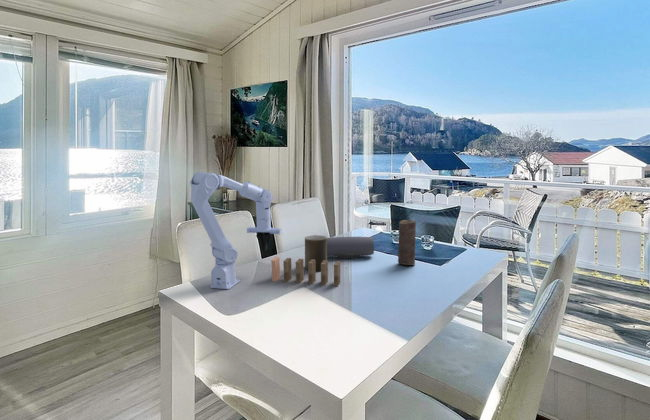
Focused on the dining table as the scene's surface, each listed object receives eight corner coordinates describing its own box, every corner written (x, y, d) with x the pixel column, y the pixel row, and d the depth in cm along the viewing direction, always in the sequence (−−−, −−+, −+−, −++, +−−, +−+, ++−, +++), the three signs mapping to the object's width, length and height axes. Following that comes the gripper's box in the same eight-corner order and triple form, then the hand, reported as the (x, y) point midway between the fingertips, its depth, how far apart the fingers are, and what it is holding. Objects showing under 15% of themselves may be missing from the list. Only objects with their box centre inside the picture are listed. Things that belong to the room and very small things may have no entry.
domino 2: (287, 282, 147) (287, 261, 145) (284, 282, 147) (283, 261, 146) (291, 278, 151) (291, 258, 150) (287, 278, 151) (287, 257, 150)
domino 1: (275, 281, 148) (275, 260, 146) (272, 281, 148) (271, 260, 147) (280, 277, 152) (279, 257, 151) (276, 277, 153) (275, 257, 151)
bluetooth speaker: (371, 254, 184) (371, 234, 182) (374, 259, 175) (374, 238, 173) (324, 254, 183) (324, 234, 182) (325, 260, 174) (325, 239, 173)
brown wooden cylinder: (410, 268, 162) (411, 222, 158) (394, 265, 166) (395, 221, 163) (417, 263, 168) (419, 220, 164) (402, 261, 172) (403, 218, 169)
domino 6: (337, 286, 142) (337, 264, 140) (333, 286, 142) (333, 264, 141) (340, 282, 146) (340, 261, 145) (336, 281, 147) (336, 261, 145)
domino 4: (312, 284, 144) (312, 263, 143) (308, 284, 145) (308, 262, 143) (315, 280, 149) (315, 259, 147) (311, 279, 149) (311, 259, 148)
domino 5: (325, 285, 143) (324, 264, 142) (321, 285, 143) (320, 263, 142) (327, 281, 147) (327, 260, 146) (324, 280, 148) (323, 260, 146)
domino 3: (300, 283, 145) (299, 262, 144) (296, 283, 146) (295, 262, 144) (303, 279, 150) (303, 258, 148) (299, 279, 150) (299, 258, 149)
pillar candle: (324, 272, 158) (324, 237, 156) (302, 270, 160) (301, 236, 157) (329, 265, 167) (329, 232, 165) (307, 264, 169) (307, 231, 167)
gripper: (283, 216, 156) (284, 248, 158) (251, 215, 159) (252, 246, 162) (277, 220, 149) (278, 253, 151) (243, 218, 152) (245, 251, 155)
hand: (264, 250), depth 156 cm, fingers closed
